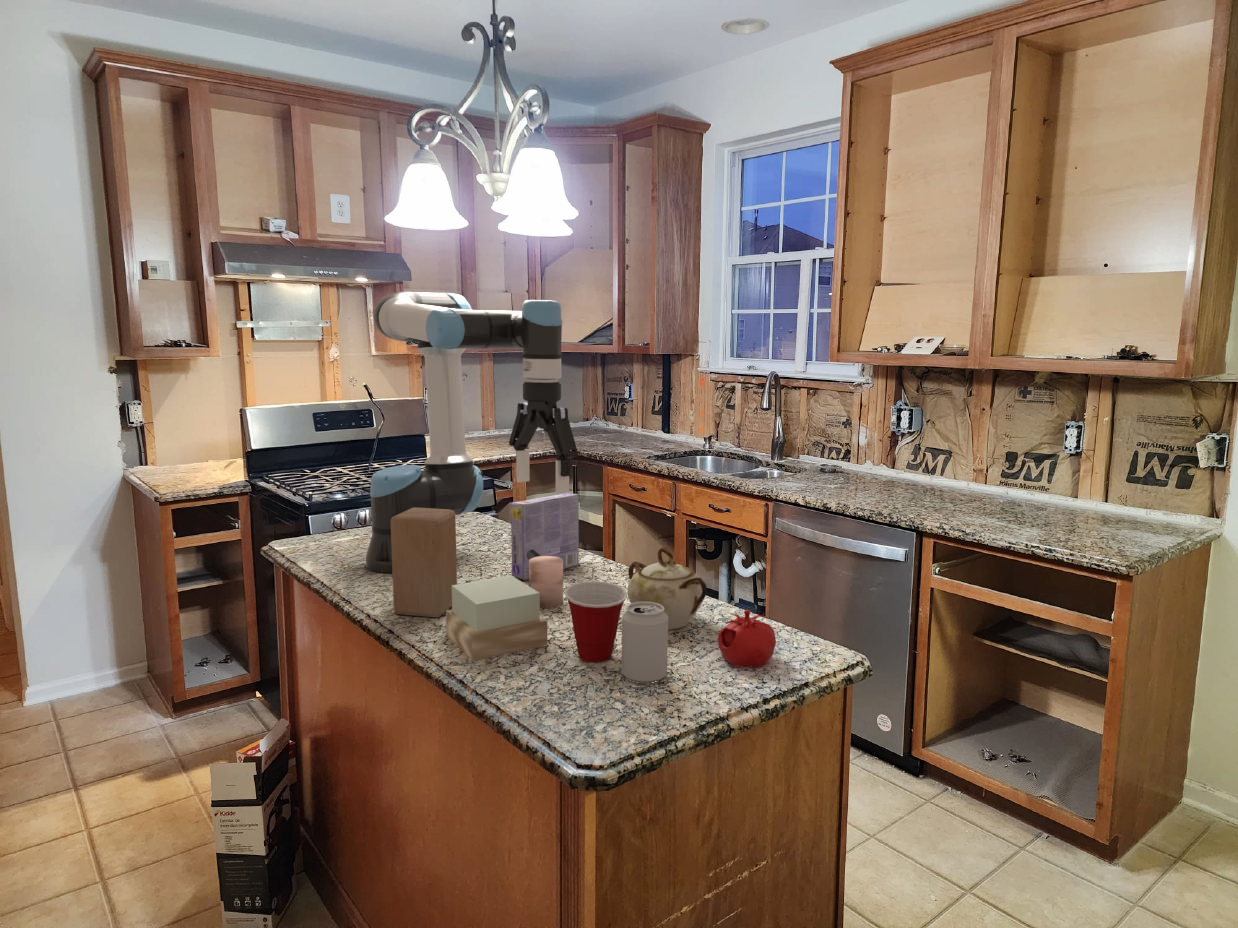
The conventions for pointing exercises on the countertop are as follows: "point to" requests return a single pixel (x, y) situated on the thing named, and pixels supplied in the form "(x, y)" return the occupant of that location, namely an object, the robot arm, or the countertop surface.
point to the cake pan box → (544, 531)
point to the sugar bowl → (667, 588)
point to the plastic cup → (595, 617)
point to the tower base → (495, 637)
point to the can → (644, 642)
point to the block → (423, 561)
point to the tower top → (495, 603)
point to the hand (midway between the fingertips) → (542, 487)
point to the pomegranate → (747, 641)
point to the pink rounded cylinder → (547, 579)
